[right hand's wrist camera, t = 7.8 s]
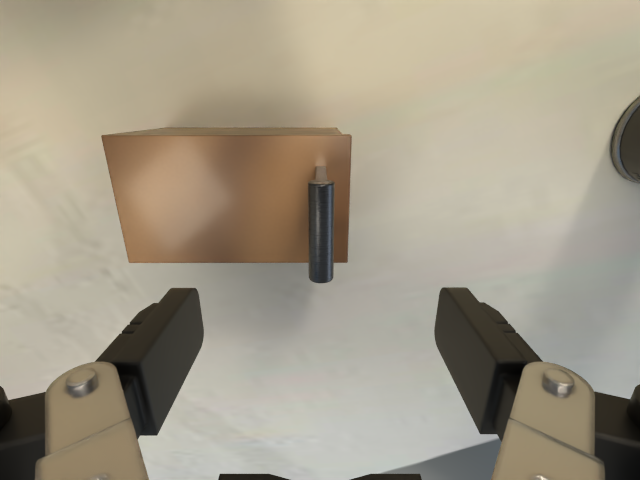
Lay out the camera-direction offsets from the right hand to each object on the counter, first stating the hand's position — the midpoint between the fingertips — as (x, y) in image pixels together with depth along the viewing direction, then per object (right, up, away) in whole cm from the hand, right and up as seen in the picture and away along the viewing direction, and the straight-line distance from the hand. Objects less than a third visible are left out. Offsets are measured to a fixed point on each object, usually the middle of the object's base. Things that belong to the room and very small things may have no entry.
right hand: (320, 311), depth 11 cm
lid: (-6, +5, +14) cm, 17 cm away
